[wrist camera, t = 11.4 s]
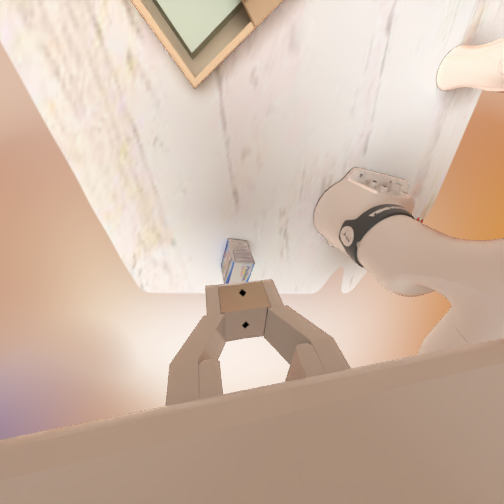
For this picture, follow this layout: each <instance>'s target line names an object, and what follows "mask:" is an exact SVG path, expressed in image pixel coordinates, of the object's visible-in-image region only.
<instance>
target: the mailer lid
mask: <svg viewBox="0 0 504 504" xmlns="http://www.w3.org/2000/svg"><path fill="white" fill-rule="evenodd" d="M241 1H242V3H243V5H244V7H245V9H246V11H247V13H248V15H249V17H250V19H251V21H252V23H253V25H254V27H255V26H256V25H257V24H258V23H259V22H260V21H261V20H262V19H263V18H264V17H265V16H266V15H267V14H268V13H269V12H270V11H271V10H272V9H273V8H274V7H275V6H276V5H277V4H278V3H279V2H280V1H281V0H241Z"/></svg>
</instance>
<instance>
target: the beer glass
mask: <svg viewBox="0 0 504 504" xmlns="http://www.w3.org/2000/svg"><path fill="white" fill-rule="evenodd" d="M436 82H437V86H438V88H439V89H441V90H443V91H448V90H452V89H456V88H461V87H470V88H476V89H481V90H486V91H492V92H500V93H502V92H504V37H503V38H500V39H498V40H495V41H492V42H489V43H486V44H482V45H460V46H458V47H456V48H454V49H453V50H451V51H450V52H449V53H448V54H447V55H446V57H445V58H444V59H443V61H442V63H441V65H440V67H439V69H438V72H437V78H436Z"/></svg>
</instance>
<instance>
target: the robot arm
mask: <svg viewBox="0 0 504 504" xmlns="http://www.w3.org/2000/svg"><path fill="white" fill-rule="evenodd" d="M360 174H361V175H360ZM359 175H360V176H359ZM413 208H414V199H413V197H412V196H410V195H408V182H407V181H405V180H403V179H400V178H396V177H392V176H388V175H384V174H381V173H377V172H373V171H369V170H365V169H362V168H358V167H356V168H353V169H352V170H351V171H350V172H349V173H348V174H347V175H346V176H345V177H344V179H342V180H341V181H340V182H338V183H336V184H335V185H333V186H332V187H331V188H329V189H328V190H327V191H326V192H325V193H324V194H323V196H322V197H321V198H320V200H319V202H318V204H317V206H316V208H315V212H314V225H315V228H316V229H317V231H318V232H319V233H320V234H321V235H323V236H324V237H325V238H326V240H327V242H328V244H329V245H330V246H332V247H337V248H338V249H339V250H341V251H342V252H343V253H344V254H346V255H347V256H348V257H351V258H352V260H353V261H354V262H355V263H357V264H358V265H359V266H361V267H364V268H365V269H366V270H367V271H368V272H369V273H370V274H371V275H372V276H373V277H374V278H375V279H376V280H377V281H378V282H379V283H380V284H381V285H382V286H383V287H384V288H385V289H387V290H388V291H390V292H392V293H394V294H397V295H401V296H407V297H413V296H420V295H424V294H427V293H430V292H433V291H437V292H438V293H440V294H441V295H443V296H444V297H445V298H447V299H448V301H449V302H450V303H451V307H450V309H449V310H448V312H447V313H446V314H445V315H444V316H443V317H442V319H441V320H440V321H439V322H438V323H437V324H436V326H435V327H434V328H433V329H432V330H431V331H430V333H429V334H428V335H427V336H426V337H425V339H424V341H423V343H422V345H421V348H420V350H419V352H418V355H416V356H411V357H406V358H401V359H396V360H392V361H386V362H382V363H376V364H372V365H367V366H362V367H357V368H352V369H351V368H350V366H349V364H348V363H347V361H346V359H345V358H344V356H343V354H342V352H341V351H340V349H339V347H338V346H337V344H336V342H335V340H334V339H333V337H331V336H330V335H328V334H327V333H326V332H324V331H323V330H321V329H320V328H318V327H317V326H316V325H314V324H313V323H311V322H310V321H309V320H307V319H306V318H304V317H303V316H301V315H300V314H299V313H297V312H296V311H294V310H293V309H291V308H290V307H289V306H287V305H286V306H284V305H283V302H282V300H281V298H280V296H279V293H278V291H277V289H276V286H275V284H274V282H273V280H272V279H269V280H261V281H252V282H242V283H232V284H218V285H208V286H206V287H205V291H206V307H207V315H206V316H203V317H202V319H201V320H200V321H199V323H198V324H197V326H196V327H195V329H194V330H193V332H192V333H191V334H190V336H189V337H188V339H187V340H186V342H185V343H184V345H183V346H182V348H181V349H180V350H179V352H178V353H177V355H176V356H175V358H174V359H173V361H172V362H171V363H170V366H169V376H168V386H167V396H166V406H164V407H159V408H154V409H150V410H144V411H139V412H135V413H130V414H125V415H120V416H115V417H110V418H105V419H100V420H95V421H90V422H85V423H80V424H75V425H70V426H66V427H60V428H55V429H51V430H46V431H41V432H36V433H31V434H26V435H21V436H16V437H11V438H6V439H1V440H0V504H504V238H502V239H495V240H478V241H477V240H465V239H459V238H455V237H451V236H448V235H446V234H443V233H441V232H438V231H436V230H434V229H432V228H430V227H428V226H426V225H424V224H422V222H423V220H421V222H419V219H420V218H417V220H415V219H414V217H413V216H412V215H411V214H412V212H413ZM259 336H264V338H265V339H266V340H267V341H268V342H269V343H270V344H271V345H272V346H273V347H274V348H275V349H276V350H277V351H278V352H279V354H280V355H281V356H282V357H283V358H284V359H285V360H286V361H287V362H288V363H289V364H290V368H289V371H288V374H287V378H286V381H285V382H283V383H277V384H272V385H267V386H263V387H258V388H253V389H248V390H243V391H238V392H233V393H228V394H223V390H222V380H221V371H220V362H219V361H218V358H219V356H220V354H221V352H222V349H223V347H224V345H225V342H227V341H232V340H238V339H243V338H251V337H259Z"/></svg>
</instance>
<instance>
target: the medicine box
mask: <svg viewBox="0 0 504 504" xmlns="http://www.w3.org/2000/svg"><path fill="white" fill-rule="evenodd" d="M254 264H255V262H254V259H253V257H252V254H251V251H250V249H249V246H248V244H247V241H243V240H235V239H228V241H227V245H226V249H225V253H224V257H223V261H222V264H221V269H222V274H223V280H224V284H232V283H242V282H248V280H249V278H250V275H251V272H252V269H253V267H254Z"/></svg>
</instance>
